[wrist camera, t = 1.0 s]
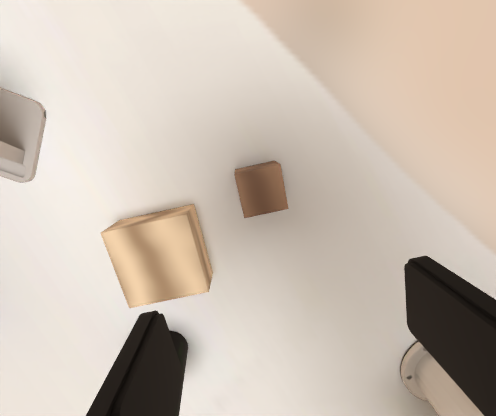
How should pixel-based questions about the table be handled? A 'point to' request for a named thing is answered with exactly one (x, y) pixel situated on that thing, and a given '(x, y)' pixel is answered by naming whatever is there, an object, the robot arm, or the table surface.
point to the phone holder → (20, 136)
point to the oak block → (159, 256)
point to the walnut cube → (261, 189)
